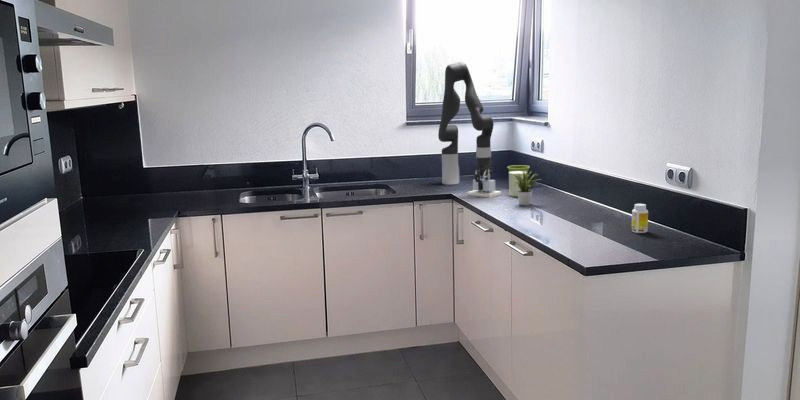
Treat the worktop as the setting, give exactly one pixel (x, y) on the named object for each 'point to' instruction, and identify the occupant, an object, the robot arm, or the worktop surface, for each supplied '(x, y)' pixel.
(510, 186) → the can
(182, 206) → the worktop surface
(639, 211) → the supplement bottle
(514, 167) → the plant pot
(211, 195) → the worktop surface
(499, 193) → the white peg board
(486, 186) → the plug housing
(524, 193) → the house plant
